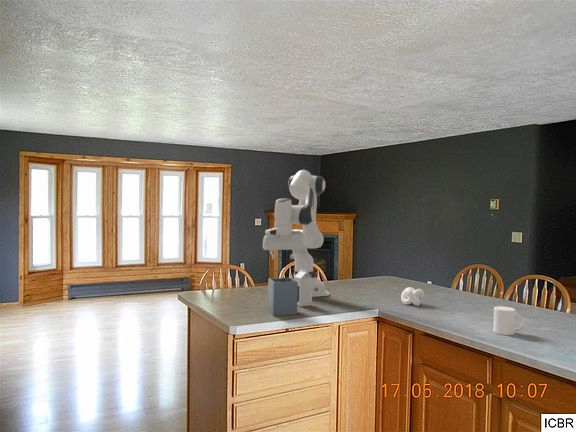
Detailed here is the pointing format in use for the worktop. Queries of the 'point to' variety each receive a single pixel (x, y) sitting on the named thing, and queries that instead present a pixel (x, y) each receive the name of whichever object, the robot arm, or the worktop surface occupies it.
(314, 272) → the robot arm
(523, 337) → the worktop surface
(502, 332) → the mug
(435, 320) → the worktop surface
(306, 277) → the milk carton
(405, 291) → the white knot
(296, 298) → the dark grey upright box
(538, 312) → the worktop surface
